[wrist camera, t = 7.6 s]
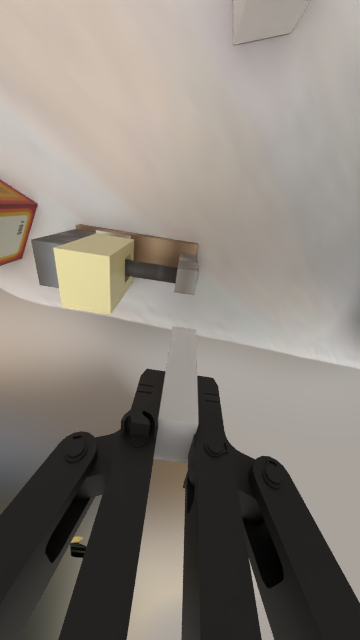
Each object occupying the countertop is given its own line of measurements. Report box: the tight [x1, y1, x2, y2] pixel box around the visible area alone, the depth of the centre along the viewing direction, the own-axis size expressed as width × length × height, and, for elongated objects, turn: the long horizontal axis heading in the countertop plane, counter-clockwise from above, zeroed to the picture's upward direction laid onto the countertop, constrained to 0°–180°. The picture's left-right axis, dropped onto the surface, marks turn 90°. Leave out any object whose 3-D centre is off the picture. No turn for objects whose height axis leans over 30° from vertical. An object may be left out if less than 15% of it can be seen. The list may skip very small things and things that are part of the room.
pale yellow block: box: [53, 233, 134, 315], centre depth 25 cm, size 5×6×10 cm
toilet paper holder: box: [31, 224, 199, 295], centre depth 28 cm, size 18×6×12 cm, turn 82°
